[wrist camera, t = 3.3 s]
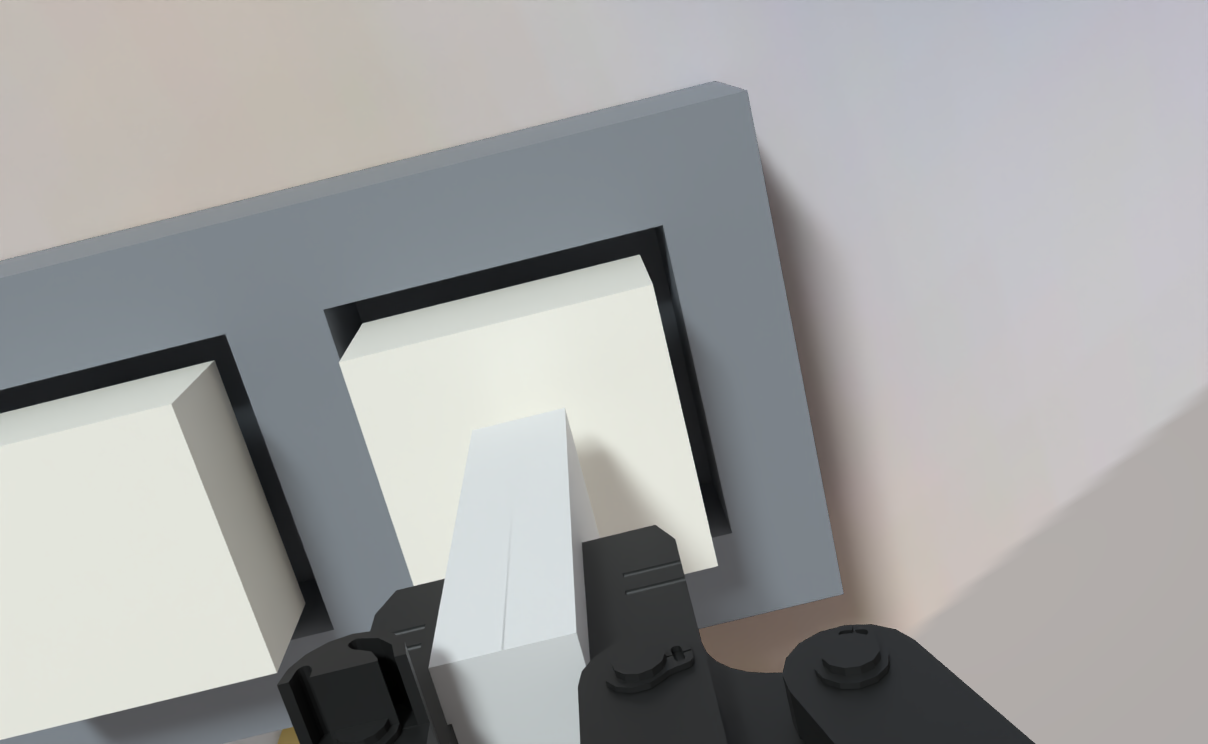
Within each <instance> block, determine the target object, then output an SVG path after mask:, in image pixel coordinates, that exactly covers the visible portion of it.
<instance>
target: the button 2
mask: <svg viewBox="0 0 1208 744" xmlns="http://www.w3.org/2000/svg"><path fill="white" fill-rule="evenodd" d="M305 604H306V603H305V601H304V598H303V595H302V593H301V590H300V587H299V585H298V582H297V579H296V577H295V574H294V571H293V569H292V566H291V563H290V561H289V558H288V555H287V553H286V550H285V547H284V545H283V542H282V539H281V537H280V534H279V531H278V529H277V526H276V523H275V521H274V518H273V515H272V513H271V510H270V507H269V505H268V502H267V499H266V497H265V494H264V491H263V488H262V486H261V483H260V480H259V478H258V475H257V472H256V470H255V467H254V464H253V462H252V459H251V456H250V454H249V451H248V448H247V446H246V443H245V440H244V438H243V435H242V432H241V430H240V427H239V424H238V422H237V419H236V416H235V414H234V411H233V408H232V406H231V403H230V400H229V398H228V395H227V392H226V390H225V387H224V384H223V382H222V379H221V376H220V374H219V371H218V368H217V366H216V363H215V360H213V361H209V362H205V363H201V364H197V365H193V366H189V367H185V368H181V369H177V370H173V371H169V372H165V373H161V374H157V375H153V376H149V377H145V378H141V379H137V380H133V381H129V382H125V383H121V384H117V385H113V386H109V387H105V388H101V389H97V390H93V391H89V392H85V393H81V394H77V395H73V396H69V397H65V398H61V399H57V400H53V401H49V402H45V403H41V404H37V405H33V406H28V407H24V408H20V409H16V410H12V411H8V412H4V413H0V740H2V739H7V738H11V737H15V736H19V735H23V734H27V733H31V732H35V731H40V730H44V729H48V728H52V727H56V726H60V725H64V724H68V723H73V722H77V721H81V720H85V719H89V718H93V717H97V716H101V715H106V714H110V713H114V712H118V711H122V710H126V709H130V708H134V707H139V706H143V705H147V704H151V703H155V702H159V701H163V700H168V699H172V698H176V697H180V696H184V695H188V694H192V693H196V692H201V691H205V690H209V689H213V688H217V687H221V686H225V685H229V684H234V683H238V682H242V681H246V680H250V679H254V678H258V677H262V676H267V675H271V674H275V673H277V672H278V669H279V667H280V664H281V662H282V660H283V657H284V655H285V652H286V650H287V647H288V645H289V643H290V640H291V638H292V635H293V633H294V630H295V628H296V626H297V623H298V621H299V618H300V616H301V613H302V611H303V608H304V606H305Z"/></svg>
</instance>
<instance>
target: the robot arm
mask: <svg viewBox="0 0 1208 744" xmlns="http://www.w3.org/2000/svg"><path fill="white" fill-rule="evenodd" d="M277 687H278V690H279V692H280V695H281V697H282V700H283V702H284V705H285V707H286V710H287V712H288V715H289V717H290V720H291V723H292V725H293V728H294V730H295V733H296V735H297V738H298V740H299V743H300V744H1035V743H1034V742H1033V741H1031V740H1030V739H1029V738H1028V737H1027V736H1026V735H1024V734H1023V733H1022V732H1021V731H1020V730H1019V729H1018V728H1016V727H1015V726H1014V725H1013V724H1012V723H1010V722H1009V721H1008V720H1007V719H1006V718H1005V717H1004V716H1002V715H1001V714H1000V713H999V712H998V711H997V710H995V709H994V708H993V707H992V706H991V705H990V704H989V703H987V702H986V701H985V700H983V698H982V697H980V696H979V695H978V694H977V693H976V692H974V691H973V690H972V689H971V688H970V687H969V686H967V685H966V684H965V683H964V682H963V681H962V680H961V679H959V678H958V677H957V676H956V675H955V674H954V673H952V672H951V671H950V670H949V669H948V668H947V667H945V666H944V665H943V664H942V663H941V662H940V661H938V660H937V659H936V658H935V657H934V656H933V655H932V654H930V653H929V652H928V651H927V650H926V649H924V648H923V647H922V646H921V645H920V644H919V643H918V642H916V641H915V640H914V639H912V638H910V637H908V636H907V635H905V634H903V633H901V632H899V631H898V630H896V629H891V628H887V627H882V626H877V625H872V624H868V625H844V626H840V627H837V628H833V629H829V630H825V631H821V632H819V633H817V634H815V635H813V636H812V637H810V638H808V639H806V640H804V641H803V642H801V643H799V644H798V645H797V646H796V648H795V649H794V650H793V651H792V652H791V653H790V654H789V655H788V657H787V658H786V661H785V665H784V670H783V673H758V672H746V671H741V670H737V669H733V668H729V667H727V666H725V665H723V664H721V663H719V662H717V661H716V660H714V659H713V658H712V657H711V656H710V655H709V654H708V653H707V652H706V650H705V648H704V646H703V644H702V642H701V638H700V634H699V630H698V626H697V622H696V618H695V614H694V610H693V606H692V603H691V599H690V595H689V591H688V587H687V583H686V579H685V575H684V571H683V567H682V563H681V559H680V556H679V552H678V548H677V544H676V540H675V538H673V537H672V536H670V535H669V534H668V533H666V532H665V531H663V530H662V529H661V528H659V527H658V526H656V525H652V526H648V527H644V528H640V529H636V530H631V531H627V532H623V533H619V534H615V535H611V536H607V537H603V538H600V536H599V533H598V529H597V525H596V521H595V518H594V514H593V510H592V507H591V503H590V499H589V495H588V492H587V488H586V484H585V480H584V477H583V473H582V469H581V466H580V462H579V458H578V454H577V451H576V447H575V443H574V440H573V436H572V432H571V428H570V425H569V421H568V417H567V413H566V410H565V408H562V409H557V410H553V411H549V412H545V413H541V414H537V415H533V416H529V417H525V418H521V419H517V420H513V421H509V422H504V423H500V424H496V425H492V426H488V427H484V428H480V429H476V430H472V434H471V439H470V445H469V450H468V456H467V461H466V467H465V472H464V477H463V483H462V488H461V494H460V499H459V505H458V510H457V515H456V521H455V526H454V532H453V537H452V543H451V548H450V553H449V559H448V564H447V570H446V575H445V579H441V580H437V581H433V582H429V583H424V584H420V585H416V586H412V587H408V588H404V589H400V590H396V591H395V592H394V593H393V595H392V596H391V597H390V598H389V599H388V600H387V601H386V603H385V604H384V605H383V606H382V607H381V608H380V609H379V610H378V612H377V613H376V614H375V616H374V620H373V623H372V626H371V630H370V631H369V632H361V633H354V634H350V635H347V636H345V637H342V638H339V639H336V640H333V641H330V642H327V643H326V644H324V645H322V646H320V647H318V648H317V649H315V650H313V651H311V652H309V653H307V654H306V655H304V656H303V657H302V658H301V659H300V660H298V661H297V662H296V663H295V664H294V665H292V666H291V667H290V668H289V669H288V670H287V671H286V672H285V674H284V675H283V677H282V678H281V680H280V681H279V683H278V684H277Z"/></svg>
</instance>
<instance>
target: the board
mask: <svg viewBox="0 0 1208 744" xmlns="http://www.w3.org/2000/svg"><path fill="white" fill-rule="evenodd" d="M636 255H640V256H641V259H642V261H643V263H644V265H645V268H646V270H647V272H648V275H649V277H650V279H651V281H652V284H653V287H654V292H655V296H656V300H657V305H658V309H659V313H660V318H661V322H662V326H663V331H664V335H665V339H666V343H667V348H668V352H669V356H670V361H671V365H672V369H673V374H674V378H675V382H676V387H677V391H678V395H679V400H680V404H681V408H682V412H683V417H684V421H685V425H686V430H687V434H688V438H689V443H690V447H691V451H692V456H693V460H694V464H695V469H696V473H697V477H698V482H699V486H700V490H701V494H702V499H703V503H704V507H705V512H706V516H707V520H708V525H709V529H710V533H711V538H712V542H713V546H714V551H715V555H716V559H717V563H718V566H716V567H712V568H708V569H704V570H700V571H696V572H692V573H687V574H684V575H685V579H686V583H687V587H688V591H689V595H690V599H691V603H692V606H693V610H694V614H695V618H696V622H697V626H698V629H701V628H705V627H709V626H713V625H717V624H722V623H726V622H730V621H734V620H738V619H742V618H746V617H751V616H755V615H759V614H763V613H767V612H771V611H775V610H780V609H784V608H788V607H792V606H796V605H800V604H804V603H809V602H813V601H817V600H821V599H825V598H829V597H833V596H838V595H842V594H844V593H843V588H842V582H841V577H840V572H839V567H838V562H837V556H836V551H835V546H834V541H833V536H832V530H831V525H830V520H829V515H828V509H827V504H826V499H825V494H824V489H823V483H822V478H821V473H820V468H819V462H818V457H817V452H816V447H815V442H814V436H813V431H812V426H811V421H810V416H809V410H808V405H807V400H806V395H805V389H804V384H803V379H802V374H801V369H800V363H799V358H798V353H797V348H796V342H795V337H794V332H793V327H792V322H791V316H790V311H789V306H788V301H787V295H786V290H785V285H784V280H783V275H782V269H781V264H780V259H779V254H778V249H777V243H776V238H775V233H774V228H773V222H772V217H771V212H770V207H769V202H768V196H767V191H766V186H765V181H764V175H763V170H762V165H761V160H760V155H759V149H758V144H757V139H756V134H755V129H754V123H753V118H752V113H751V108H750V102H749V97H748V92H747V90H744V89H741V88H737V87H734V86H731V85H727V84H724V83H721V82H717V81H713V82H709V83H705V84H701V85H697V86H693V87H689V88H686V89H682V90H678V91H674V92H670V93H666V94H662V95H658V96H654V97H650V98H646V99H642V100H638V101H634V102H630V103H626V104H622V105H618V106H614V107H610V108H606V109H602V110H598V111H594V112H590V113H586V114H582V115H578V116H574V117H570V118H566V119H562V120H558V121H554V122H550V123H546V124H542V125H538V126H535V127H531V128H527V129H523V130H519V131H515V132H511V133H507V134H503V135H499V136H495V137H491V138H487V139H483V140H479V141H475V142H471V143H467V144H463V145H459V146H455V147H451V148H447V149H443V150H439V151H435V152H431V153H427V154H423V155H419V156H415V157H411V158H407V159H403V160H399V161H395V162H391V163H387V164H384V165H380V166H376V167H372V168H368V169H364V170H360V171H356V172H352V173H348V174H344V175H340V176H336V177H332V178H328V179H324V180H320V181H316V182H312V183H308V184H304V185H300V186H296V187H292V188H288V189H284V190H280V191H276V192H272V193H268V194H264V195H260V196H256V197H252V198H248V199H244V200H240V201H237V202H233V203H229V204H225V205H221V206H217V207H213V208H209V209H205V210H201V211H197V212H193V213H189V214H185V215H181V216H177V217H173V218H169V219H165V220H161V221H157V222H153V223H149V224H145V225H141V226H137V227H133V228H129V229H125V230H121V231H117V232H113V233H109V234H105V235H101V236H97V237H93V238H89V239H86V240H82V241H78V242H74V243H70V244H66V245H62V246H58V247H54V248H50V249H46V250H42V251H38V252H34V253H30V254H26V255H22V256H18V257H14V258H10V259H6V260H2V261H0V413H4V412H8V411H12V410H16V409H20V408H24V407H28V406H33V405H37V404H41V403H45V402H49V401H53V400H57V399H61V398H65V397H69V396H73V395H77V394H81V393H85V392H89V391H93V390H97V389H101V388H105V387H109V386H113V385H117V384H121V383H125V382H129V381H133V380H137V379H141V378H145V377H149V376H153V375H157V374H161V373H165V372H169V371H173V370H177V369H181V368H185V367H189V366H193V365H197V364H201V363H205V362H209V361H213V360H215V363H216V366H217V368H218V371H219V374H220V376H221V379H222V382H223V384H224V387H225V390H226V392H227V395H228V398H229V400H230V403H231V406H232V408H233V411H234V414H235V416H236V419H237V422H238V424H239V427H240V430H241V432H242V435H243V438H244V440H245V443H246V446H247V448H248V451H249V454H250V456H251V459H252V462H253V464H254V467H255V470H256V472H257V475H258V478H259V480H260V483H261V486H262V488H263V491H264V494H265V497H266V499H267V502H268V505H269V507H270V510H271V513H272V515H273V518H274V521H275V523H276V526H277V529H278V531H279V534H280V537H281V539H282V542H283V545H284V547H285V550H286V553H287V555H288V558H289V561H290V563H291V566H292V569H293V571H294V574H295V577H296V579H297V582H298V585H299V587H300V590H301V593H302V595H303V598H304V601H305V603H306V604H305V606H304V608H303V611H302V613H301V616H300V618H299V621H298V623H297V626H296V628H295V630H294V633H293V635H292V638H291V640H290V643H289V645H288V647H287V650H286V652H285V655H284V657H283V660H282V662H281V664H280V667H279V669H278V672H277V673H275V674H271V675H267V676H262V677H258V678H254V679H250V680H246V681H242V682H238V683H234V684H229V685H225V686H221V687H217V688H213V689H209V690H205V691H201V692H196V693H192V694H188V695H184V696H180V697H176V698H172V699H168V700H163V701H159V702H155V703H151V704H147V705H143V706H139V707H134V708H130V709H126V710H122V711H118V712H114V713H110V714H106V715H101V716H97V717H93V718H89V719H85V720H81V721H77V722H73V723H68V724H64V725H60V726H56V727H52V728H48V729H44V730H40V731H35V732H31V733H27V734H23V735H19V736H15V737H11V738H7V739H2V740H0V744H224V743H228V742H232V741H236V740H241V739H245V738H249V737H253V736H257V735H261V734H265V733H270V732H274V731H278V730H282V729H286V728H290V727H293V725H292V723H291V720H290V717H289V715H288V712H287V710H286V707H285V705H284V702H283V700H282V697H281V695H280V692H279V690H278V687H277V684H278V683H279V681H280V680H281V678H282V677H283V675H284V674H285V672H286V671H287V670H288V669H289V668H290V667H291V666H292V665H294V664H295V663H296V662H297V661H298V660H300V659H301V658H302V657H303V656H304V655H306V654H307V653H309V652H311V651H313V650H315V649H317V648H318V647H320V646H322V645H324V644H326V643H327V642H330V641H333V640H336V639H339V638H342V637H345V636H347V635H350V634H354V633H361V632H369V631H370V630H371V626H372V623H373V620H374V616H375V614H376V613H377V612H378V610H379V609H380V608H381V607H382V606H383V605H384V604H385V603H386V601H387V600H388V599H389V598H390V597H391V596H392V595H393V593H394V592H395V591H396V590H400V589H404V588H408V587H412V586H414V585H413V582H412V579H411V576H410V573H409V570H408V567H407V564H406V561H405V558H404V555H403V552H402V549H401V546H400V543H399V540H398V537H397V534H396V531H395V528H394V525H393V522H392V519H391V517H390V514H389V511H388V508H387V505H386V502H385V499H384V496H383V493H382V490H381V487H380V484H379V481H378V478H377V475H376V472H375V469H374V466H373V463H372V460H371V457H370V454H369V451H368V448H367V445H366V442H365V439H364V436H363V433H362V430H361V427H360V424H359V421H358V418H357V415H356V412H355V409H354V406H353V403H352V400H351V397H350V394H349V391H348V388H347V385H346V382H345V379H344V377H343V374H342V371H341V368H340V365H339V361H340V360H341V358H342V356H343V355H344V353H345V351H346V350H347V348H348V346H349V345H350V343H351V342H352V340H353V338H354V337H355V335H356V333H357V332H358V330H359V328H360V327H361V325H362V323H366V322H370V321H374V320H378V319H382V318H386V317H390V316H394V315H398V314H402V313H406V312H410V311H415V310H419V309H423V308H427V307H431V306H435V305H439V304H443V303H447V302H451V301H455V300H459V299H463V298H467V297H471V296H475V295H479V294H483V293H487V292H491V291H495V290H499V289H503V288H507V287H511V286H515V285H519V284H523V283H527V282H531V281H535V280H539V279H543V278H547V277H551V276H555V275H559V274H563V273H567V272H571V271H575V270H579V269H583V268H587V267H591V266H595V265H599V264H603V263H608V262H612V261H616V260H620V259H624V258H628V257H632V256H636Z"/></svg>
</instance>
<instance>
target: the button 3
mask: <svg viewBox="0 0 1208 744" xmlns="http://www.w3.org/2000/svg"><path fill="white" fill-rule="evenodd" d="M339 365H340V368H341V371H342V374H343V377H344V379H345V382H346V385H347V388H348V391H349V394H350V397H351V400H352V403H353V406H354V409H355V412H356V415H357V418H358V421H359V424H360V427H361V430H362V433H363V436H364V439H365V442H366V445H367V448H368V451H369V454H370V457H371V460H372V463H373V466H374V469H375V472H376V475H377V478H378V481H379V484H380V487H381V490H382V493H383V496H384V499H385V502H386V505H387V508H388V511H389V514H390V517H391V519H392V522H393V525H394V528H395V531H396V534H397V537H398V540H399V543H400V546H401V549H402V552H403V555H404V558H405V561H406V564H407V567H408V570H409V573H410V576H411V579H412V582H413V585H414V586H416V585H420V584H424V583H429V582H433V581H437V580H441V579H445V575H446V570H447V564H448V559H449V553H450V548H451V543H452V537H453V532H454V526H455V521H456V515H457V510H458V505H459V499H460V494H461V488H462V483H463V477H464V472H465V467H466V461H467V456H468V450H469V445H470V439H471V434H472V430H476V429H480V428H484V427H488V426H492V425H496V424H500V423H504V422H509V421H513V420H517V419H521V418H525V417H529V416H533V415H537V414H541V413H545V412H549V411H553V410H557V409H562V408H565V410H566V413H567V417H568V421H569V425H570V428H571V432H572V436H573V440H574V443H575V447H576V451H577V454H578V458H579V462H580V466H581V469H582V473H583V477H584V480H585V484H586V488H587V492H588V495H589V499H590V503H591V507H592V510H593V514H594V518H595V521H596V525H597V529H598V533H599V536H600V538H603V537H607V536H611V535H615V534H619V533H623V532H627V531H631V530H636V529H640V528H644V527H648V526H652V525H656V526H658V527H659V528H661V529H662V530H663V531H665V532H666V533H668V534H669V535H670V536H672V537H673V538H675V540H676V544H677V548H678V552H679V556H680V559H681V563H682V567H683V571H684V574H687V573H692V572H696V571H700V570H704V569H708V568H712V567H716V566H718V563H717V559H716V555H715V551H714V546H713V542H712V538H711V533H710V529H709V525H708V520H707V516H706V512H705V507H704V503H703V499H702V494H701V490H700V486H699V482H698V477H697V473H696V469H695V464H694V460H693V456H692V451H691V447H690V443H689V438H688V434H687V430H686V425H685V421H684V417H683V412H682V408H681V404H680V400H679V395H678V391H677V387H676V382H675V378H674V374H673V369H672V365H671V361H670V356H669V352H668V348H667V343H666V339H665V335H664V331H663V326H662V322H661V318H660V313H659V309H658V305H657V300H656V296H655V292H654V287H653V284H652V281H651V279H650V277H649V275H648V272H647V270H646V268H645V265H644V263H643V261H642V259H641V256H640V255H636V256H632V257H628V258H624V259H620V260H616V261H612V262H608V263H603V264H599V265H595V266H591V267H587V268H583V269H579V270H575V271H571V272H567V273H563V274H559V275H555V276H551V277H547V278H543V279H539V280H535V281H531V282H527V283H523V284H519V285H515V286H511V287H507V288H503V289H499V290H495V291H491V292H487V293H483V294H479V295H475V296H471V297H467V298H463V299H459V300H455V301H451V302H447V303H443V304H439V305H435V306H431V307H427V308H423V309H419V310H415V311H410V312H406V313H402V314H398V315H394V316H390V317H386V318H382V319H378V320H374V321H370V322H366V323H362V325H361V327H360V328H359V330H358V332H357V333H356V335H355V337H354V338H353V340H352V342H351V343H350V345H349V346H348V348H347V350H346V351H345V353H344V355H343V356H342V358H341V360H340V361H339Z"/></svg>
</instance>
